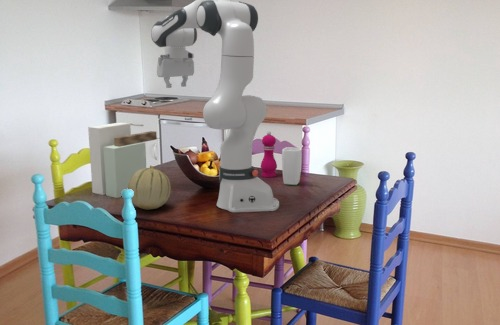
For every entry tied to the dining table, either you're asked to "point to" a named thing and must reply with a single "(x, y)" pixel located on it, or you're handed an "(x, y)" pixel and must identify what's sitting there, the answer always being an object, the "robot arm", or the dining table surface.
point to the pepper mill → (268, 156)
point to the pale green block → (122, 166)
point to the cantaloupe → (149, 188)
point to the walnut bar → (135, 138)
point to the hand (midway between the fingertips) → (176, 87)
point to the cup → (291, 165)
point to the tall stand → (97, 141)
